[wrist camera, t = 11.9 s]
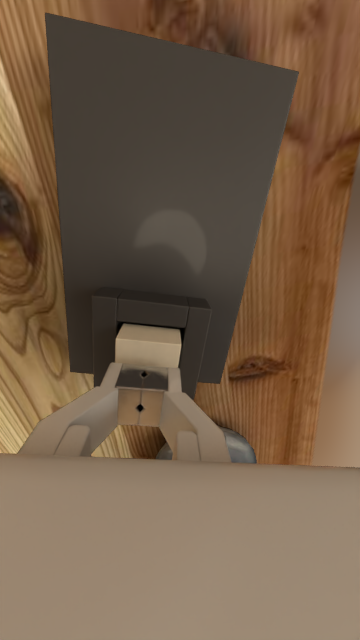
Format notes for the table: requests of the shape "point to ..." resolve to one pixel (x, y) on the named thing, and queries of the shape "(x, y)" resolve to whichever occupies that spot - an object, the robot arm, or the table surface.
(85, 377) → the table surface
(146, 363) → the beige square push button
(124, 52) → the push button base
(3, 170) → the table surface
